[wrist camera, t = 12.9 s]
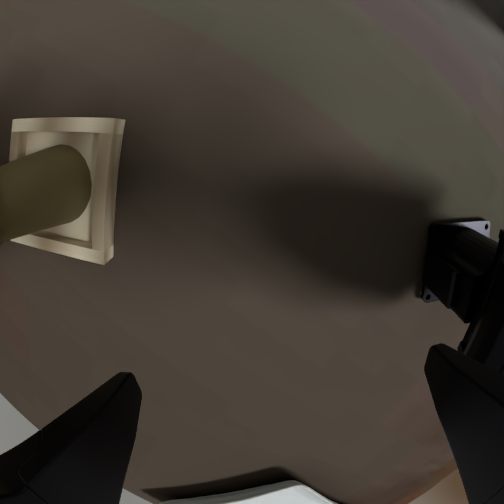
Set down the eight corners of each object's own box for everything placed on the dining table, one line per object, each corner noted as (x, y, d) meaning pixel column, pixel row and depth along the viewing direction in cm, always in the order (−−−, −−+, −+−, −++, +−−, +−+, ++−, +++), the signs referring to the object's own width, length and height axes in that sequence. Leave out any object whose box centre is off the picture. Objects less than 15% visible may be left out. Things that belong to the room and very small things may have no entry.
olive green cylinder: (23, 177, 18) (-83, 212, 8) (67, 127, 17) (-54, 136, 7) (57, 237, 20) (-41, 303, 10) (105, 193, 19) (-10, 247, 8)
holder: (125, 119, 17) (115, 118, 16) (113, 256, 21) (103, 265, 19) (25, 118, 17) (12, 119, 15) (21, 234, 20) (10, 240, 19)
